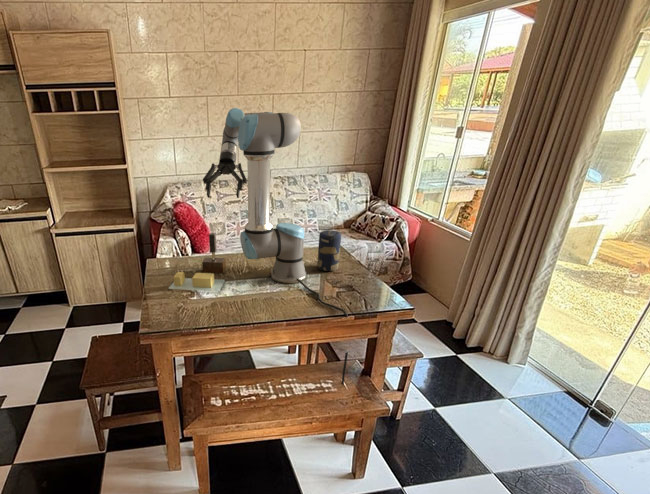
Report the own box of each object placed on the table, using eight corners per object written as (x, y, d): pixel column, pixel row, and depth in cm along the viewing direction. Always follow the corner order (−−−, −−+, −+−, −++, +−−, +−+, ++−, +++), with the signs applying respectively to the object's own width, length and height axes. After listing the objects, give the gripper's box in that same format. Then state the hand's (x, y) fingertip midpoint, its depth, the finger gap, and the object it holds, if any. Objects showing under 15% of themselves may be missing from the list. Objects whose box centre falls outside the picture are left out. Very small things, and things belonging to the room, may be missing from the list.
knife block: (225, 270, 190) (225, 258, 187) (223, 275, 185) (222, 262, 182) (206, 269, 192) (205, 257, 189) (203, 274, 187) (202, 261, 184)
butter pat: (185, 280, 178) (184, 272, 176) (181, 286, 173) (180, 277, 171) (178, 280, 179) (177, 271, 177) (174, 285, 174) (173, 277, 172)
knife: (217, 269, 189) (215, 233, 181) (216, 271, 186) (214, 235, 178) (212, 268, 189) (210, 232, 181) (211, 271, 187) (208, 235, 178)
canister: (342, 268, 187) (346, 229, 178) (331, 274, 181) (335, 234, 172) (323, 263, 193) (327, 226, 184) (312, 269, 187) (315, 230, 178)
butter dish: (225, 282, 178) (224, 279, 177) (219, 293, 168) (218, 291, 167) (177, 279, 182) (176, 277, 182) (168, 290, 172) (168, 288, 171)
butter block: (214, 282, 176) (213, 273, 174) (211, 287, 170) (210, 278, 168) (196, 281, 177) (195, 272, 175) (192, 286, 172) (192, 278, 170)
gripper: (255, 161, 190) (251, 201, 184) (203, 161, 194) (197, 200, 189) (253, 150, 182) (249, 191, 177) (200, 150, 187) (194, 191, 182)
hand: (222, 196), depth 183 cm, fingers open, 13 cm apart
